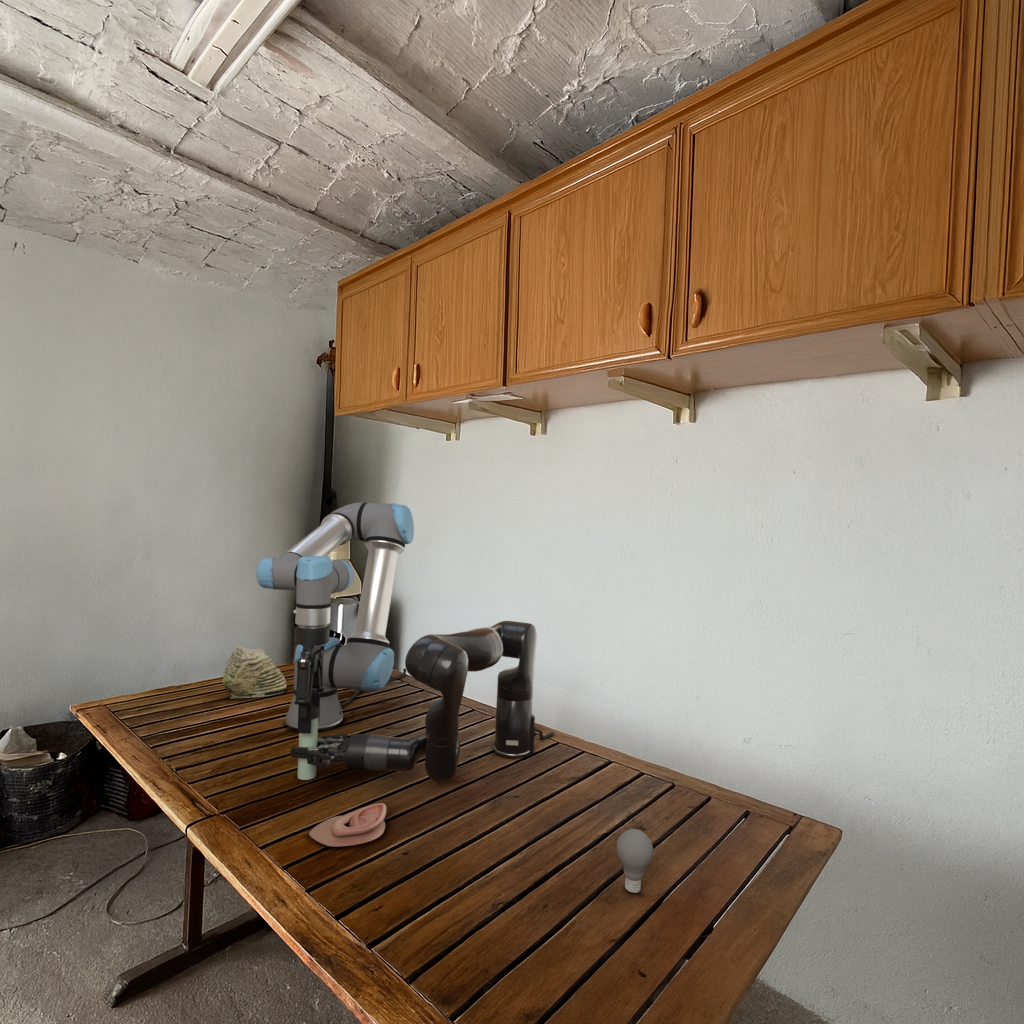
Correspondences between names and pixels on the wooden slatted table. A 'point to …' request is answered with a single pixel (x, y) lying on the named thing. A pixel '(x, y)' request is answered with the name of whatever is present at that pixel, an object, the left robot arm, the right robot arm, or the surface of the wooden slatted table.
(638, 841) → the light bulb
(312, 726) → the bottle
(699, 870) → the wooden slatted table surface
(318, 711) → the lid
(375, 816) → the anatomical model
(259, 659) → the fossil
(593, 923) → the wooden slatted table surface
